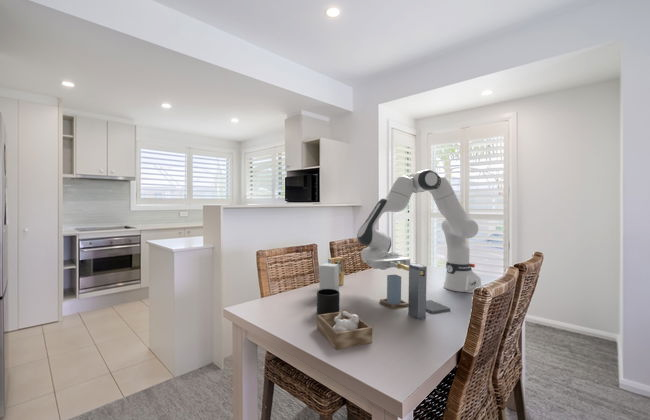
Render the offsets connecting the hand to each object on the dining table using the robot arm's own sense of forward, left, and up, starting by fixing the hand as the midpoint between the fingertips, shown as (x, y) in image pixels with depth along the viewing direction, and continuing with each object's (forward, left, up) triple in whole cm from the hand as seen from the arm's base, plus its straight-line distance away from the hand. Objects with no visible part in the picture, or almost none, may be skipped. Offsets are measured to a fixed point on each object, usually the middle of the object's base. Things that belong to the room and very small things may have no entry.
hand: (399, 265), depth 135 cm
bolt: (0, +7, -1) cm, 7 cm away
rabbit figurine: (+35, +18, -19) cm, 44 cm away
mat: (-13, +6, -18) cm, 23 cm away
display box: (+36, +17, -18) cm, 44 cm away
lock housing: (0, +12, -18) cm, 22 cm away
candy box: (+12, -42, -19) cm, 47 cm away
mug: (+32, -5, -19) cm, 37 cm away
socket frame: (0, -4, -18) cm, 19 cm away
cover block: (0, -4, -18) cm, 19 cm away
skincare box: (+23, -26, -19) cm, 39 cm away
